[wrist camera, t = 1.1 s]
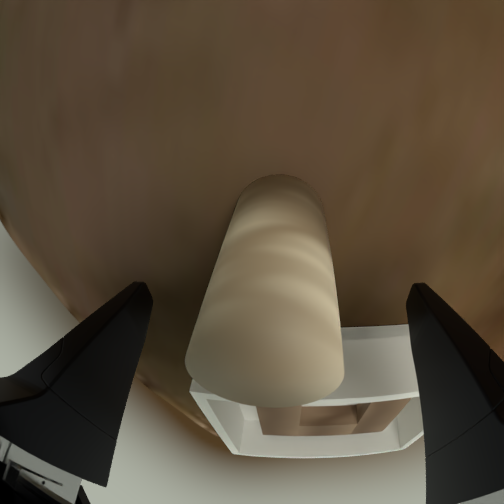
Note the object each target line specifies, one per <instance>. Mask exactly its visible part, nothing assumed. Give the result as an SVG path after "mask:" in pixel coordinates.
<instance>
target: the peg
mask: <svg viewBox="0 0 504 504" xmlns="http://www.w3.org/2000/svg"><path fill="white" fill-rule="evenodd" d="M185 366H186V369H187V371H188V373H189V374H190V376H191V377H192V378H193V379H194V380H195V381H196V382H197V383H198V384H199V385H200V386H202V387H203V388H205V389H206V390H208V391H209V392H211V393H213V394H215V395H217V396H219V397H222V398H224V399H227V400H230V401H233V402H237V403H240V404H245V405H250V406H257V407H269V408H280V407H293V406H299V405H304V404H308V403H311V402H315V401H317V400H320V399H322V398H324V397H326V396H328V395H329V394H331V393H332V392H334V391H335V390H336V389H337V388H338V387H339V386H340V384H341V383H342V381H343V379H344V374H345V373H344V359H343V347H342V337H341V327H340V317H339V308H338V300H337V292H336V284H335V277H334V270H333V263H332V256H331V250H330V244H329V238H328V232H327V226H326V220H325V215H324V209H323V205H322V202H321V199H320V197H319V195H318V194H317V193H316V191H315V190H314V189H313V188H312V187H311V186H310V185H309V184H307V183H306V182H304V181H302V180H301V179H298V178H296V177H293V176H289V175H278V174H277V175H269V176H265V177H262V178H259V179H257V180H255V181H254V182H252V183H251V184H250V185H248V186H247V187H246V188H245V190H244V191H243V192H242V194H241V195H240V197H239V200H238V202H237V205H236V208H235V210H234V213H233V216H232V219H231V222H230V224H229V227H228V230H227V233H226V236H225V239H224V241H223V244H222V247H221V250H220V253H219V256H218V259H217V262H216V264H215V267H214V270H213V273H212V276H211V279H210V282H209V285H208V288H207V291H206V294H205V297H204V300H203V303H202V306H201V309H200V312H199V315H198V318H197V321H196V324H195V328H194V331H193V334H192V337H191V340H190V343H189V346H188V349H187V353H186V356H185Z"/></svg>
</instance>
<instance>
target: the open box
mask: <svg viewBox="0 0 504 504" xmlns="http://www.w3.org/2000/svg"><path fill="white" fill-rule="evenodd" d="M463 320H464V319H463ZM341 337H342V347H343V359H344V373H345V374H344V379H343V381H342V383H341V384H340V386H339V387H338V388H337V389H336V390H335V391H334V392H332V393H331V394H329V395H328V396H326V397H324V398H322V399H320V400H317V401H315V402H311V403H308V404H304V405H302V406H342V405H357V403H369V402H380V401H389V400H397V399H405V398H411V400H410V401H409V402H408V403H407V405H406V406H405V407H404V408H403V409H402V410H401V412H400V413H399V414H398V415H397V416H396V417H395V418H394V419H393V421H392V422H391V423H390V424H389V425H388V426H387V427H386V428H385V429H384V430H383V431H381V432H372V433H362V434H350V435H333V436H276V435H263V434H262V430H261V426H260V422H259V417H258V413H257V409H256V406H250V405H245V404H240V403H237V402H233V401H230V400H227V399H224V398H222V397H219V396H217V395H215V394H213V393H211V392H209V391H208V390H206V389H205V388H203V387H202V386H200V385H199V384H198V383H197V382H196V381H195V380H194V379H192V383H191V387H190V390H189V392H190V393H191V395H192V396H193V398H194V400H195V401H196V403H197V404H198V406H199V407H200V409H201V410H202V412H203V413H204V415H205V416H206V418H207V419H208V420H209V422H210V423H211V425H212V426H213V428H214V429H215V430H216V432H217V433H218V435H219V436H220V437H221V439H222V440H223V441H224V443H225V444H226V445H227V447H228V448H229V450H230V451H231V452H232V454H238V455H248V456H260V457H278V458H327V457H328V458H329V457H346V456H358V455H368V454H376V453H384V452H391V451H396V450H402V449H405V448H407V447H408V446H409V445H410V444H412V443H413V442H415V441H416V440H417V439H419V438H420V437H421V436H422V435H424V430H423V421H422V412H421V404H420V397H419V390H418V384H417V377H416V372H415V366H414V361H413V356H412V350H411V343H410V334H409V325H408V324H404V325H389V326H370V327H343V328H341Z"/></svg>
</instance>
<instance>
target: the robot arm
mask: <svg viewBox="0 0 504 504" xmlns="http://www.w3.org/2000/svg"><path fill="white" fill-rule="evenodd" d="M152 306H153V299H152V296H151V294H150V291H149V289H148V287H147V285H146V283H145V282H137V281H136V282H133V283H132V284H130V285H129V286H128V287H126V288H125V289H124V290H122V291H121V292H120V293H118V294H117V295H116V296H114V297H113V298H112V299H110V300H109V301H108V302H107V303H105V304H104V305H103V306H101V307H100V308H99V309H98V310H96V311H95V312H94V313H92V314H91V315H90V316H89V317H87V318H86V319H85V320H84V321H82V322H81V323H80V324H79V325H77V326H76V327H75V328H74V329H72V330H71V331H70V332H69V333H67V334H66V335H65V336H64V338H61V339H60V340H59V341H58V342H56V343H55V344H54V345H53V346H51V347H50V348H49V349H48V350H46V351H45V352H44V353H42V354H41V355H40V356H38V357H37V358H35V359H34V360H33V361H31V362H30V363H28V364H27V365H26V366H25V367H23V368H22V369H20V370H19V371H17V372H16V373H15V374H13V375H10V376H8V377H2V378H0V504H90V502H89V500H88V498H87V496H86V493H85V491H84V489H83V487H82V485H80V484H81V481H82V479H85V480H87V481H90V482H92V483H95V484H98V485H100V486H103V487H106V486H107V482H108V478H109V473H110V468H111V464H112V459H113V455H114V450H115V446H116V440H117V437H118V433H119V429H120V425H121V421H122V417H123V413H124V410H125V406H126V402H127V399H128V394H129V392H130V388H131V384H132V381H133V378H134V374H135V371H136V368H137V364H138V361H139V358H140V355H141V352H142V348H143V345H144V342H145V338H146V333H147V329H148V324H149V320H150V315H151V311H152ZM406 310H407V317H408V325H409V334H410V343H411V350H412V356H413V361H414V366H415V372H416V377H417V384H418V390H419V397H420V404H421V412H422V421H423V430H424V442H425V457H426V459H425V460H426V504H458V503H460V504H504V362H503V361H502V359H501V358H500V357H499V356H498V355H497V354H496V353H495V352H494V351H493V350H492V349H490V347H489V345H488V344H487V343H486V342H485V341H484V340H483V339H482V338H481V337H480V336H479V335H478V334H477V333H476V332H475V331H474V330H473V329H472V328H471V327H470V326H469V325H468V324H467V323H466V322H465V321H464V320H463V319H462V318H461V317H460V316H459V315H458V314H457V313H456V312H455V311H454V310H453V309H452V308H451V307H450V306H449V305H448V304H447V303H446V302H445V301H444V300H443V299H442V298H441V297H440V296H439V295H438V294H436V293H435V292H434V291H433V290H432V289H431V288H430V287H429V286H428V285H427V284H425V283H414V284H413V285H412V287H411V290H410V293H409V296H408V298H407V302H406Z"/></svg>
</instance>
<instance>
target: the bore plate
mask: <svg viewBox="0 0 504 504" xmlns="http://www.w3.org/2000/svg"><path fill="white" fill-rule="evenodd" d="M410 400H411V398H405V399H397V400H389V401H380V402H369V403H357V405H342V406H302V405H299V406H293V407H280V408H269V407H257V406H256V409H257V413H258V417H259V422H260V426H261V430H262V434H263V435H276V436H333V435H350V434H362V433H372V432H381V431H383V430H384V429H385V428H386V427H387V426H388V425H389V424H390V423H391V422H392V421H393V419H394V418H395V417H396V416H397V415H398V414H399V413H400V412H401V410H402V409H403V408H404V407H405V406H406V405H407V403H408V402H409V401H410Z"/></svg>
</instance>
